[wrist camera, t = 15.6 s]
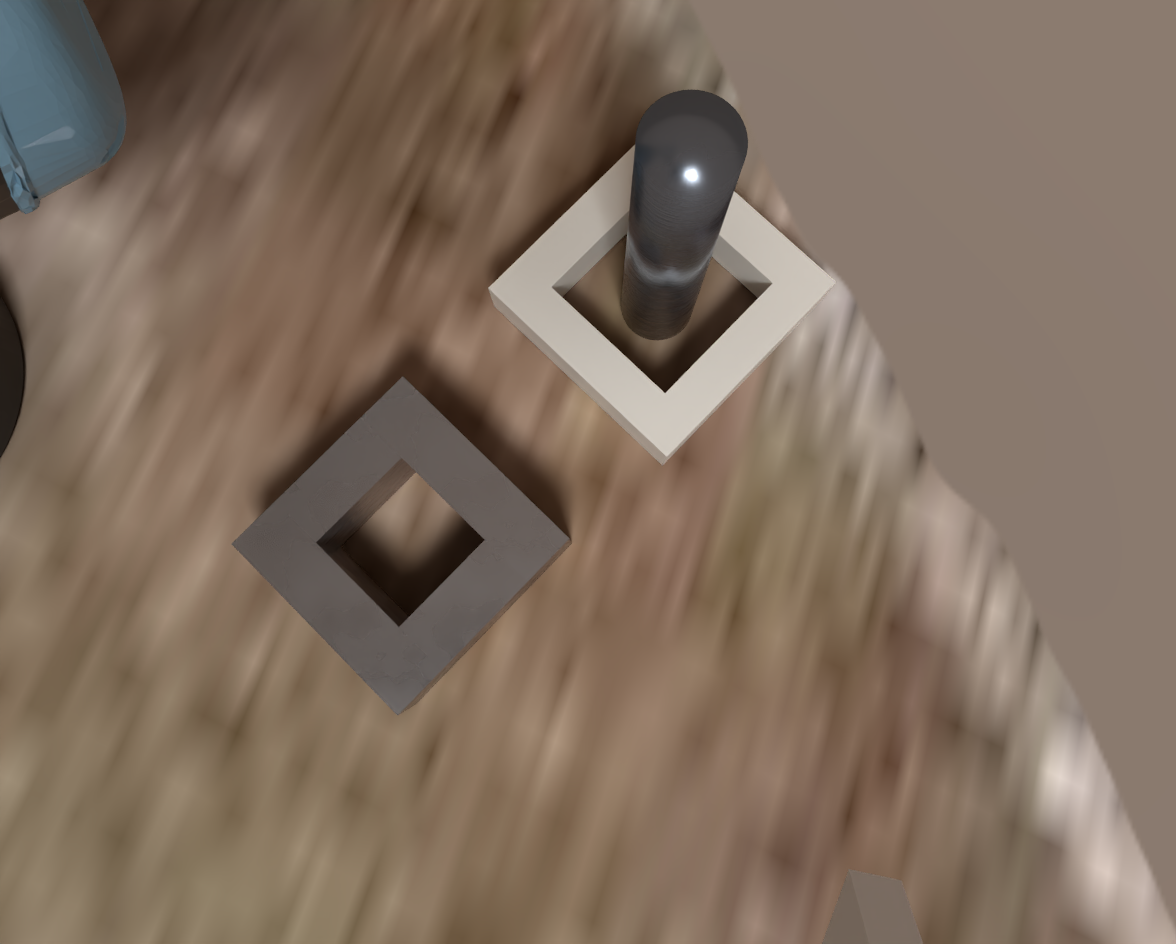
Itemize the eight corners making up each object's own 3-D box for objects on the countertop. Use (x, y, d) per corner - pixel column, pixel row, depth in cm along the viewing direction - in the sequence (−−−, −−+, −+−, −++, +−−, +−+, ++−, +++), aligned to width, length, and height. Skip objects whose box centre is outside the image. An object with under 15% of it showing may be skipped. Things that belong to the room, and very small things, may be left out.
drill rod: (606, 306, 41) (612, 143, 26) (655, 257, 41) (689, 68, 26) (657, 354, 41) (694, 216, 26) (707, 304, 41) (771, 140, 26)
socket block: (263, 548, 40) (231, 543, 36) (419, 395, 40) (402, 376, 37) (415, 704, 38) (397, 715, 35) (571, 543, 39) (569, 538, 36)
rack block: (494, 306, 41) (488, 288, 39) (653, 150, 42) (657, 122, 40) (662, 465, 40) (666, 457, 37) (821, 300, 41) (836, 282, 38)
